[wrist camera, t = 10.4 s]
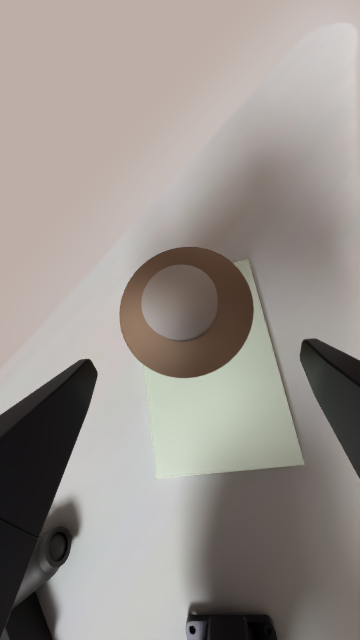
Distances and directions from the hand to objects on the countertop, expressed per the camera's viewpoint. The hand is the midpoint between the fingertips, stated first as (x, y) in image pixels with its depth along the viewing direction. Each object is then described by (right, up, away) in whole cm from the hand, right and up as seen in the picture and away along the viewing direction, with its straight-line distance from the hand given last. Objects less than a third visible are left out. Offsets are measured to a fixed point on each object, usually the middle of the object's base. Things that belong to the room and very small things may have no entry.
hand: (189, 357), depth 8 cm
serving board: (+2, -2, +11) cm, 11 cm away
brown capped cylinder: (+2, 0, +10) cm, 10 cm away
